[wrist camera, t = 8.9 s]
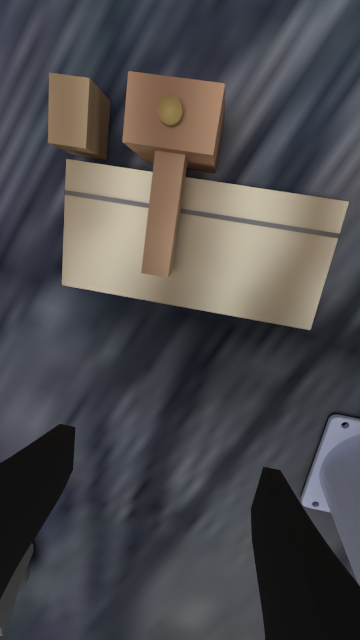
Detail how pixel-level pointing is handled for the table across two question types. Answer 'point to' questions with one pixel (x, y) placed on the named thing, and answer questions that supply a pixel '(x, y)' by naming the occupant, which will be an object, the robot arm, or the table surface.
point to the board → (202, 244)
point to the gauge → (171, 149)
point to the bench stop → (78, 116)
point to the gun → (14, 589)
